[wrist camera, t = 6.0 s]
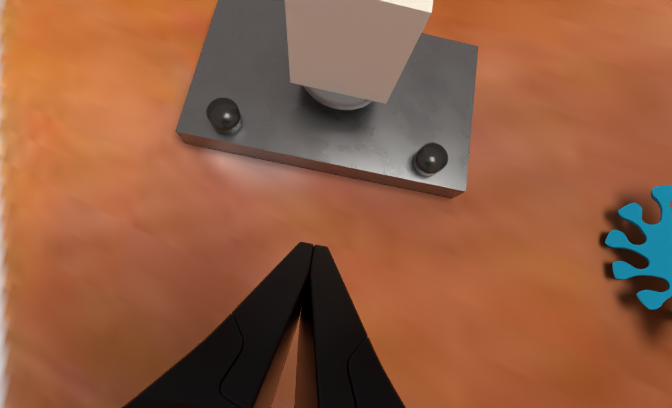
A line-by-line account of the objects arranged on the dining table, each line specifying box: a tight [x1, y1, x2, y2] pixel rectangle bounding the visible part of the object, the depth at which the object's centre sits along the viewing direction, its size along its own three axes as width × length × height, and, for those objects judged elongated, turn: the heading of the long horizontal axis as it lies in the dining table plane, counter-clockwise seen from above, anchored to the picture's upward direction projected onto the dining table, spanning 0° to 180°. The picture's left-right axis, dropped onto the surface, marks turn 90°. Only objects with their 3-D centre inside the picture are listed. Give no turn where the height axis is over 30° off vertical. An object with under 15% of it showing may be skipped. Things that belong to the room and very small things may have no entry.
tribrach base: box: [176, 0, 478, 198], centre depth 23 cm, size 12×20×3 cm, turn 80°
